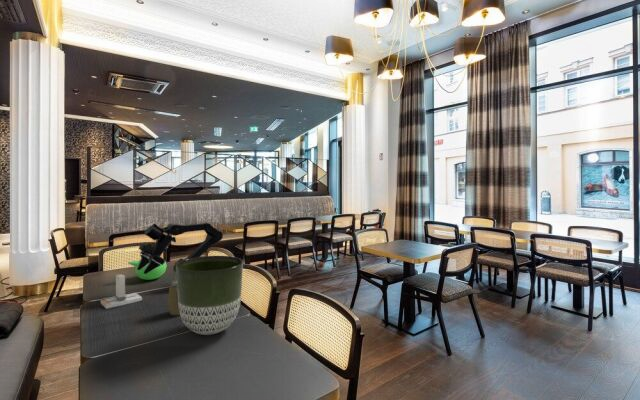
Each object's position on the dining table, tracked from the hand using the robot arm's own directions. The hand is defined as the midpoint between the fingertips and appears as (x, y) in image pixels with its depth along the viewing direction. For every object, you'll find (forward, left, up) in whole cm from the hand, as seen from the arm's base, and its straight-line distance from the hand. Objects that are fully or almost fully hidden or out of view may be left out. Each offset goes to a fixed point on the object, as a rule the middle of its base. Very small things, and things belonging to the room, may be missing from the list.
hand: (141, 271), depth 160 cm
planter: (-45, +37, -13) cm, 60 cm away
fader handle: (+6, +7, -11) cm, 15 cm away
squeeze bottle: (-26, +20, -13) cm, 35 cm away
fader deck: (+6, +6, -13) cm, 16 cm away
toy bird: (+10, -31, -13) cm, 35 cm away
